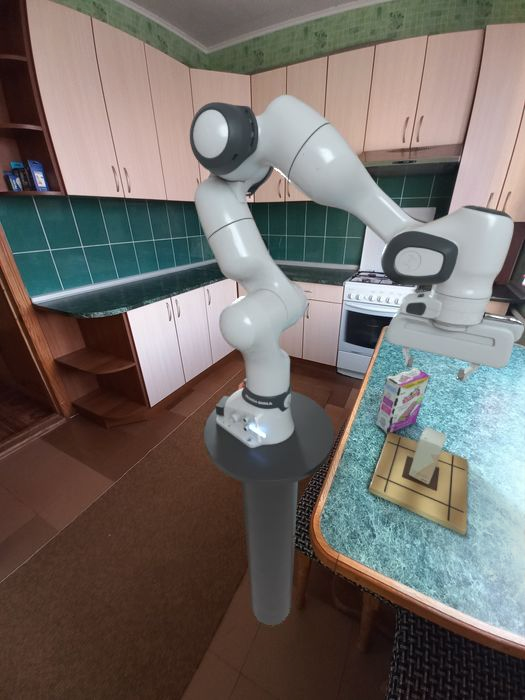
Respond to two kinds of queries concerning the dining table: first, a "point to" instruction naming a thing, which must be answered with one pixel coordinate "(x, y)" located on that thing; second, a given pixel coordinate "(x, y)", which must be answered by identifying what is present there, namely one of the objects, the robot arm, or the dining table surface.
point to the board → (423, 484)
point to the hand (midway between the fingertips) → (433, 372)
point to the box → (427, 454)
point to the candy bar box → (401, 399)
